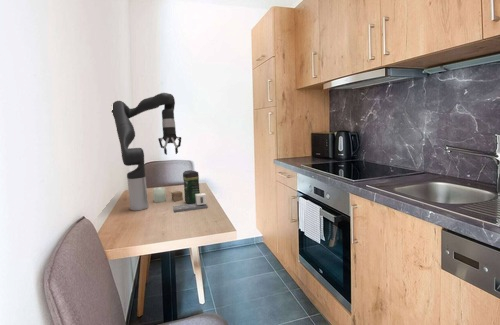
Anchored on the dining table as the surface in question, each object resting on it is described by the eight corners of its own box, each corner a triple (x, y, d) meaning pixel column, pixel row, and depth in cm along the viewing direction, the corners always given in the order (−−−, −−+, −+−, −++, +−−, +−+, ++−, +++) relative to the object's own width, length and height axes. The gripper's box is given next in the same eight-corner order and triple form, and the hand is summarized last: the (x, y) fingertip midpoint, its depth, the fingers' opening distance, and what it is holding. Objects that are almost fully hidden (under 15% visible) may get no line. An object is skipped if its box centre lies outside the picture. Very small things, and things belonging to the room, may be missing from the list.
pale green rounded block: (153, 200, 174) (152, 187, 173) (165, 199, 176) (164, 186, 175) (153, 203, 167) (152, 189, 166) (166, 201, 169) (165, 188, 168)
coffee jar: (202, 202, 163) (200, 170, 161) (189, 205, 158) (187, 172, 156) (195, 199, 171) (193, 168, 169) (183, 201, 166) (180, 170, 164)
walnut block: (172, 200, 172) (171, 192, 172) (179, 198, 175) (179, 190, 174) (174, 201, 168) (174, 193, 168) (182, 200, 171) (182, 192, 170)
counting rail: (173, 208, 153) (173, 205, 152) (204, 204, 158) (204, 201, 158) (174, 212, 145) (174, 209, 145) (207, 207, 150) (207, 205, 150)
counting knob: (195, 203, 155) (195, 194, 154) (205, 201, 156) (204, 192, 156) (197, 205, 149) (196, 196, 149) (206, 204, 151) (206, 194, 150)
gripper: (180, 126, 179) (182, 153, 181) (156, 127, 174) (158, 154, 176) (181, 125, 172) (183, 153, 173) (156, 127, 167) (159, 155, 169)
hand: (171, 154), depth 175 cm, fingers open, 5 cm apart
